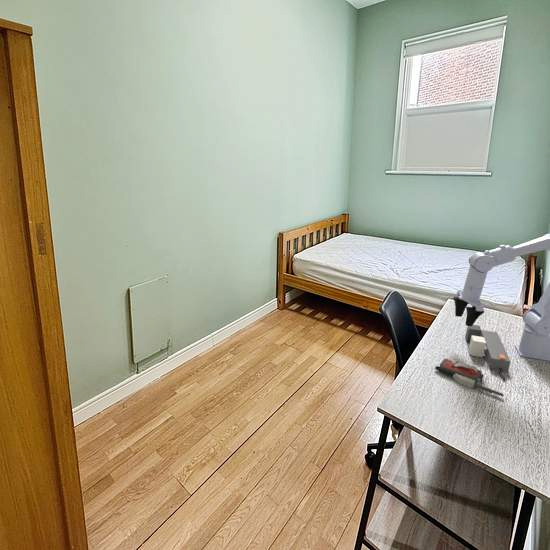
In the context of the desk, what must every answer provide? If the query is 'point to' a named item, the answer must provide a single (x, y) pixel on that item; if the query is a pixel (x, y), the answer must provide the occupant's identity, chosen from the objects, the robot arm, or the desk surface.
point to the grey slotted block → (491, 349)
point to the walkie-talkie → (463, 374)
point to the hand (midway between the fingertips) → (463, 320)
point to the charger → (477, 346)
